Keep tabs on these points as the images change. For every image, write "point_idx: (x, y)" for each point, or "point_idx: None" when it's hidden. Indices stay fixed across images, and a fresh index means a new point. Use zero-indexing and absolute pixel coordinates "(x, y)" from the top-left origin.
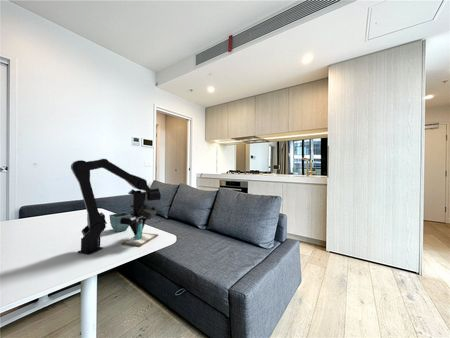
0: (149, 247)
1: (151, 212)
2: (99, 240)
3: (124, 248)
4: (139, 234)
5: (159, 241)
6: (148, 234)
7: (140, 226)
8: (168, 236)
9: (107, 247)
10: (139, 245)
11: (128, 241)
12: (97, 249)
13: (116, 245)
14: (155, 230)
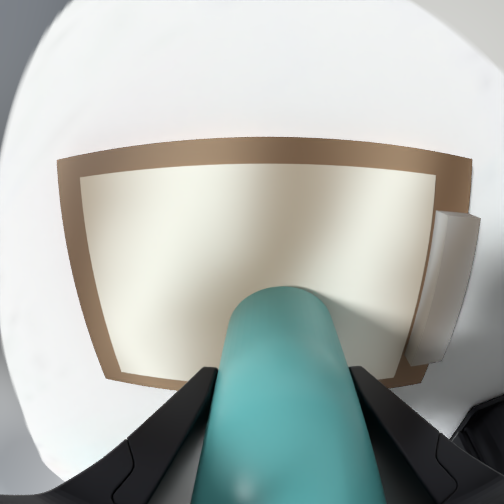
0: (444, 47)
1: None
2: (484, 454)
3: (494, 288)
4: (328, 335)
5: (242, 7)
6: (107, 285)
7: (343, 466)
8: (64, 34)
9: (459, 401)
10: (469, 170)
11: (438, 341)
12: (496, 404)
13: (435, 386)
14: (2, 292)
